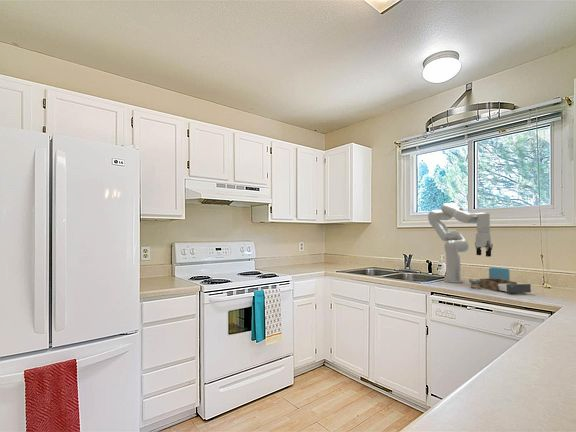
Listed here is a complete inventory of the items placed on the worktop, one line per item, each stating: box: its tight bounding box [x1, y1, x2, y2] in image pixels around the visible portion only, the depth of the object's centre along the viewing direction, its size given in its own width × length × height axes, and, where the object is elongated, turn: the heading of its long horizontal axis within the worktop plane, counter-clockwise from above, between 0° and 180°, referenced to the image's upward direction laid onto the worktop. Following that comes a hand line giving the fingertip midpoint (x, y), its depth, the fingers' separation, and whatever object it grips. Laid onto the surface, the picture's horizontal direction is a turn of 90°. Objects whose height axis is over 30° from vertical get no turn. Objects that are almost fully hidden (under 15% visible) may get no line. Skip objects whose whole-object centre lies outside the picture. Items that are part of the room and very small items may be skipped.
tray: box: [498, 283, 532, 294], centre depth 198 cm, size 16×15×5 cm
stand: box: [470, 283, 480, 289], centre depth 210 cm, size 5×5×4 cm
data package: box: [488, 266, 511, 281], centre depth 224 cm, size 12×4×12 cm, turn 51°
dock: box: [478, 278, 518, 292], centre depth 207 cm, size 16×14×6 cm
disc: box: [469, 278, 481, 284], centre depth 210 cm, size 7×7×2 cm
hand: (483, 255), depth 210 cm, fingers open, 9 cm apart
